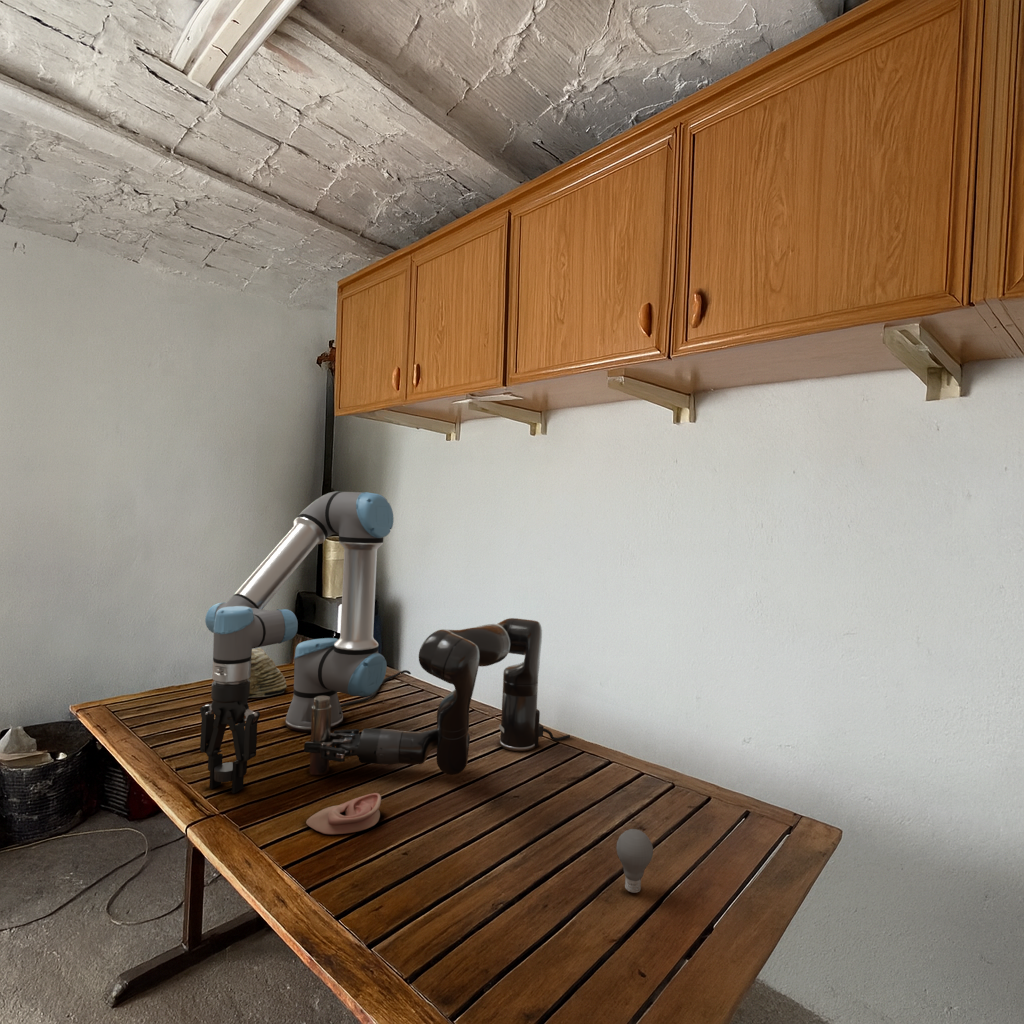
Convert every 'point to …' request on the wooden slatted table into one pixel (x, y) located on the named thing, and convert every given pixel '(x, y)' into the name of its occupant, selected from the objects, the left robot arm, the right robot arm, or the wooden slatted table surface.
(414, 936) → the wooden slatted table surface
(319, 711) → the dark brown cylindrical piece
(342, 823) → the anatomical model
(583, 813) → the wooden slatted table surface
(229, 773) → the lid
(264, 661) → the fossil
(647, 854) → the light bulb
